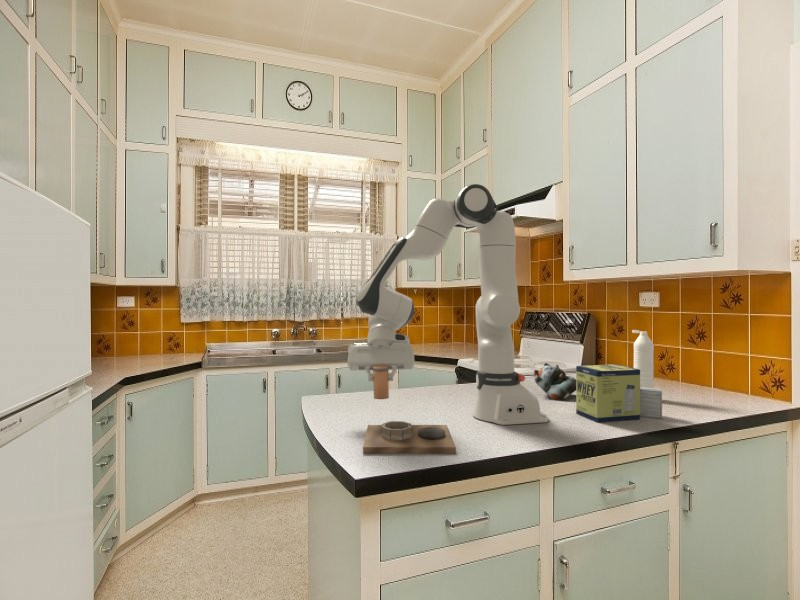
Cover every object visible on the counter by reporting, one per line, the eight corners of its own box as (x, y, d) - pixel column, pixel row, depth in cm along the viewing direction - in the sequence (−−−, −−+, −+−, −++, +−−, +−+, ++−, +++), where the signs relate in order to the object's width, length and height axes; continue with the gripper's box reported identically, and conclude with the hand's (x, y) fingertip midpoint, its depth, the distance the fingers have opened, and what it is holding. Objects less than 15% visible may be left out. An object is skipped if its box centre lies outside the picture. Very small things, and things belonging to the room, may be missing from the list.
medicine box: (660, 415, 136) (660, 388, 136) (662, 419, 132) (662, 390, 132) (632, 412, 139) (632, 386, 139) (633, 416, 135) (633, 388, 135)
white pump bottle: (657, 400, 156) (658, 331, 156) (641, 401, 155) (641, 331, 155) (641, 395, 164) (641, 329, 164) (625, 395, 164) (625, 330, 163)
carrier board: (446, 430, 120) (446, 415, 120) (455, 453, 102) (455, 436, 102) (367, 430, 120) (368, 415, 120) (363, 453, 102) (363, 436, 102)
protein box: (575, 413, 138) (575, 365, 138) (616, 411, 141) (616, 363, 141) (597, 423, 128) (597, 370, 127) (641, 419, 131) (641, 368, 131)
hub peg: (389, 395, 128) (388, 365, 128) (388, 399, 123) (388, 367, 123) (374, 395, 128) (373, 365, 128) (373, 399, 123) (372, 368, 123)
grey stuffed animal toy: (560, 402, 153) (540, 366, 156) (540, 408, 163) (522, 374, 166) (588, 386, 159) (568, 352, 162) (567, 392, 170) (549, 360, 173)
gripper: (347, 337, 133) (344, 374, 123) (413, 336, 133) (415, 373, 123) (349, 350, 137) (346, 387, 127) (413, 348, 137) (415, 385, 127)
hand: (380, 380), depth 125 cm, fingers closed on hub peg, 4 cm apart
